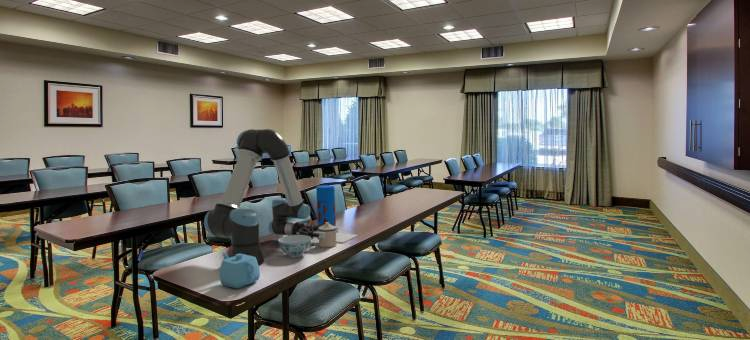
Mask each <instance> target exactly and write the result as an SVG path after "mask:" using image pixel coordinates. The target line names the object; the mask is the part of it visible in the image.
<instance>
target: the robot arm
mask: <svg viewBox="0 0 750 340" xmlns="http://www.w3.org/2000/svg"><path fill="white" fill-rule="evenodd" d="M236 147H237V153H238V159H237V160H236V164H235V165H234V168H233V171H232V172H231V176H230V178H229V180H228V183H227V185H226V187H225V191H224V193H223V194H222V197H221V200H220V201H219V202H216V203H215V206H214V208H213V209H211V210H209V211H207V213H206V214H205V216H204V220H203V225H204V228H205V231H206V232H207V233H208V234H210V235H211V236H214V237H217V238H218V237H219V238H222V237H223V238H227V239H230V241H231V243H230V244H231V248H230V252H229V255H228V257H229V258H230V257H234V256H235V255H236V254H245V255H249V256H254V257H256V259H257V262H258V266H260V265H263V264H264V263H265V255H264V254H263V251H262V248H261V245H260V225H259V224H260V220H259V213H258V212H257V211H255V209H254V210H253V209H251V208H240V207H241V204H242V201H243V199H244V196H245V193H246V192H247V189H248V186H249V183H250V180H251V178H252V175H253V173H254V170H255V167H256V165H257V163H258V162H259V161H262V159H263V157H264V154H267V155H268V156H269V159H270V161H272V162H273V164H274V167H275V170H276V173H277V177H278V178H279V181H280V184H281V187H282V190H283V192H284V195H285V198H284V197H278V198H273V200H272V203H271V204H272V205H271V209H272V210H271V211H272V213H271V214H272V220H271V221H270V222H269V223H268V228H267V230H268V232H269V233H270V234H272V235H276V236H284V237H285V236H291V235H306V236H310V237H311V240H314V238H315V239H317V238H324V239H325V238H326V233H323V232H319V231H318V232H316V231H317V230H318V228H319V227H321V226H323V225H318V224H316V225H313V224H310V225H305V223H304V222H301V221H300V222H299V221H298V222H297V221H288V218H291V219H298V220H306V219H308V218H309V216H310V215H311V207H310V205H308V204H306V203H304V201H303V197H302V193H301V191H300V188H299V185H298V182H297V178H296V174H295V171H294V169H293V167H292V163H291V160H290V157H289V156H290V155H291V153H290V149H289V147H288V144H287V143H286V142H285V140H284V139H283V137H282V135H280V134H279V133H278V132H277V131H275V130H274V129H270V128H265V129H255V128H254V129H252V128H251V129H247V130H243V131H242V132H240V133H239V135H238V136H237V138H236ZM336 233H339V227H338V226H336Z"/></svg>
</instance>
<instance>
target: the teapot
mask: <svg viewBox="0 0 750 340" xmlns="http://www.w3.org/2000/svg"><path fill="white" fill-rule="evenodd" d="M221 255H222V257H223V260H222V261H221V266H220V269H219V271H220V272H219V282H220V283H221V285H223V286H225V287H229V288H234V289H242V288H243V287H244V286H248V285H252V284H254V283H255V282H257V281H259V280H260V276H261V274H260V267H259V266H260V265H258V262H257V259H256V257H254V256H249V255H245V254H236V255H235V256H234V257H230V258H229V255H228V254H227V253H226V252H223V251H222V252H221Z"/></svg>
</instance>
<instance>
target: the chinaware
mask: <svg viewBox="0 0 750 340" xmlns="http://www.w3.org/2000/svg"><path fill="white" fill-rule="evenodd" d="M277 241H278V245H279V247H280V249H281V251H282V252H283V253H285V254H286V255H287V256H288V257H289V258H300V257H302V256H304V253H305V252H306V251H307V250H308V249H309V247H310V245H311V242H312V239H311V237H310V236H306V235H291V236H285V235H284V236H282V237H280V238H278V240H277Z"/></svg>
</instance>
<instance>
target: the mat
mask: <svg viewBox="0 0 750 340" xmlns="http://www.w3.org/2000/svg"><path fill="white" fill-rule="evenodd" d="M358 236H359V235H358V234H354V233H353V234H352V233H342V232H338V233H336V244H345V243H348V242H349V241H351V240H353V239H355V238H357V237H358Z"/></svg>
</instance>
